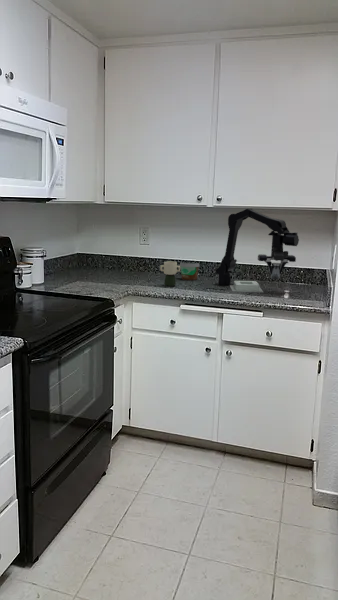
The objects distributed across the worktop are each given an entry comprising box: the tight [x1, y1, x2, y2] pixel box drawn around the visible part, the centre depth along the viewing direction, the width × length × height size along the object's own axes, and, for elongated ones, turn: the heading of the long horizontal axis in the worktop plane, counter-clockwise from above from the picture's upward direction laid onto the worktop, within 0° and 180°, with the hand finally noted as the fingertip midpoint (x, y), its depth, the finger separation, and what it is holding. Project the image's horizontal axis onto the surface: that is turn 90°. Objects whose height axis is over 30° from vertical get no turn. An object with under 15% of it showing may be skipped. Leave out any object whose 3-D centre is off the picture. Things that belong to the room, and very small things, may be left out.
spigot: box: [270, 262, 281, 280], centre depth 256 cm, size 4×4×8 cm
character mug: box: [159, 260, 181, 287], centre depth 268 cm, size 11×7×13 cm, turn 86°
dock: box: [229, 280, 264, 294], centre depth 263 cm, size 16×16×4 cm
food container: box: [179, 261, 200, 281], centre depth 287 cm, size 12×6×10 cm, turn 65°
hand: (275, 274), depth 256 cm, fingers closed on spigot, 4 cm apart
